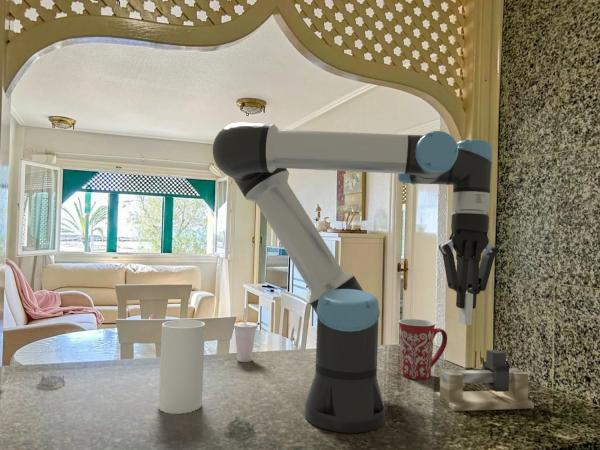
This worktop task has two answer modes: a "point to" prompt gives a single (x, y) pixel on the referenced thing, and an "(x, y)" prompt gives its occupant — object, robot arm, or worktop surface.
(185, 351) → the cup
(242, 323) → the smoothie
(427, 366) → the mug
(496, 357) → the dark grey sliding collar
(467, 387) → the worktop surface
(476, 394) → the rail
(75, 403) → the worktop surface
